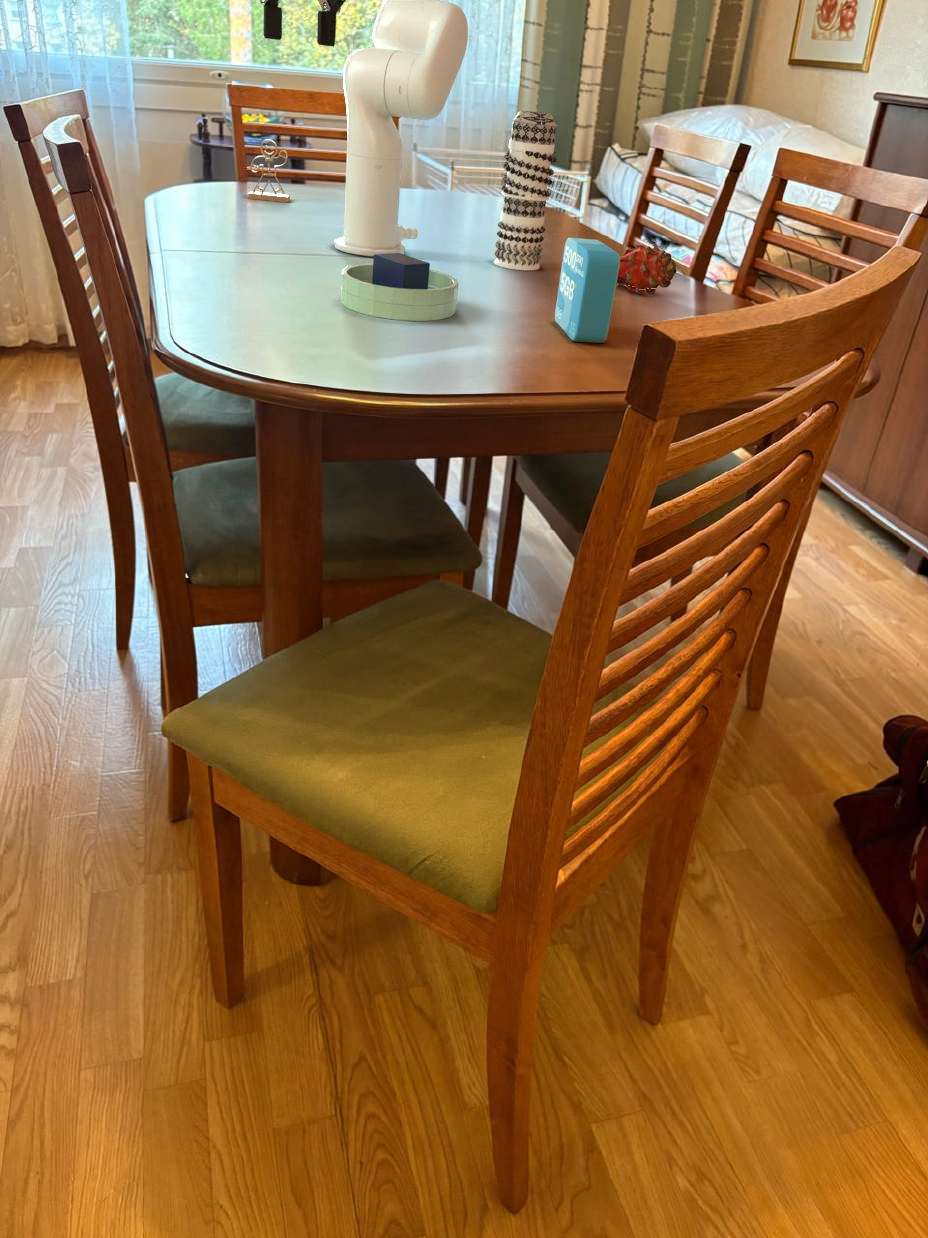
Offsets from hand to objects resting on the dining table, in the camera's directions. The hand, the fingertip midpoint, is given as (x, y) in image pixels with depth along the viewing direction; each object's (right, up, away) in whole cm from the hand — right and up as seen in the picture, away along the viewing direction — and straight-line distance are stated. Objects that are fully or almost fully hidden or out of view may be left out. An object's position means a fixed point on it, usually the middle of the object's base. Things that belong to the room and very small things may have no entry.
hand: (299, 41), depth 136 cm
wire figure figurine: (-20, +11, +77) cm, 81 cm away
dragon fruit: (+54, -25, +31) cm, 67 cm away
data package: (+40, -41, +1) cm, 57 cm away
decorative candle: (+33, -17, +40) cm, 55 cm away
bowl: (+14, -37, +2) cm, 40 cm away
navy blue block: (+14, -37, +2) cm, 39 cm away
